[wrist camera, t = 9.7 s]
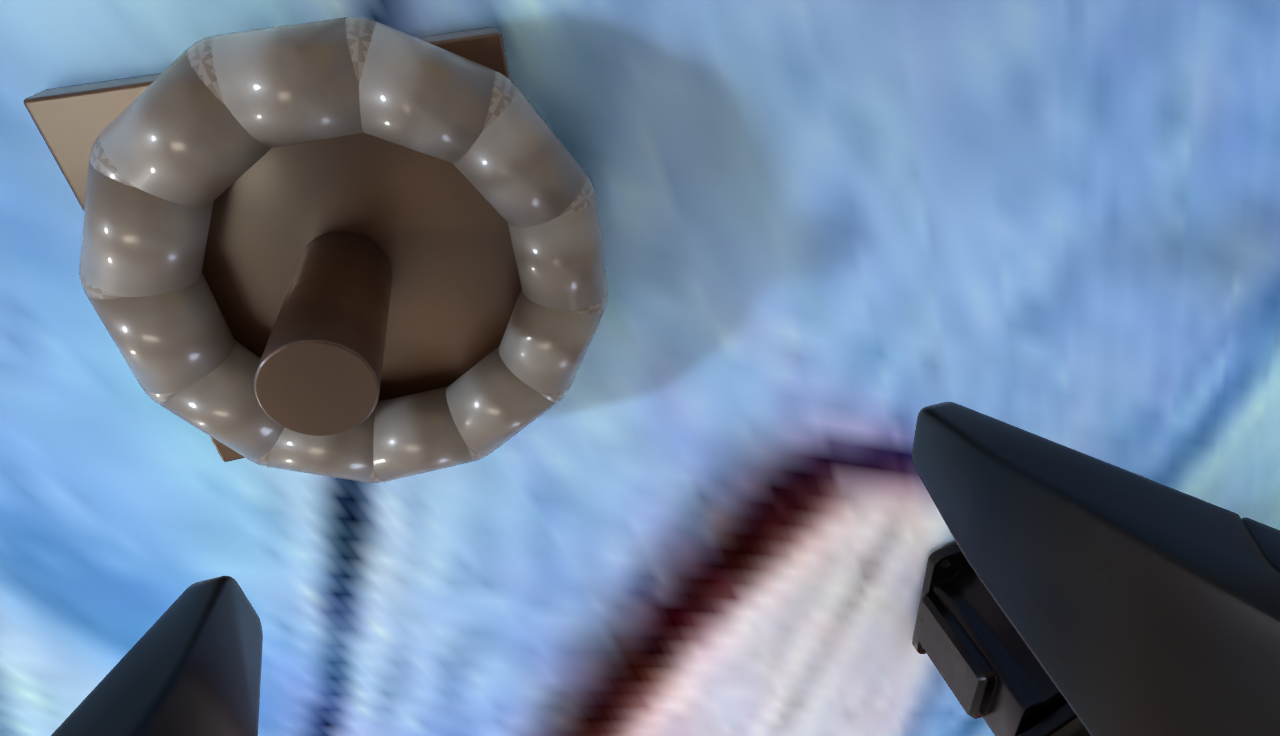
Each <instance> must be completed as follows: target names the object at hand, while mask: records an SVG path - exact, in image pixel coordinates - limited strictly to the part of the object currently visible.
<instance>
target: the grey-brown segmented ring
mask: <svg viewBox="0 0 1280 736" xmlns="http://www.w3.org/2000/svg"><path fill="white" fill-rule="evenodd" d="M359 133H367V134H369V135H372V136H375V137H378V138H381V139H384V140H387V141H389V142H392V143H395V144H398V145H401V146H404V147H407V148H410V149H412V150H415V151H418V152H421V153H424V154H427V155H430V156H433V157H435V158H438V159H441V160H444V161H447V162H450V163H453V164H454V165H455V167H456V168H457V169H458V170H459V171H460V172H461V173H462V174H463V175H464V176H465V177H466V178H467V180H468V181H469V182H470V183H471V184H472V185H473V186H474V187H475V188H476V189H477V190H478V191H479V192H480V194H481V195H482V196H483V197H484V198H485V199H486V200H487V201H488V202H489V203H490V204H491V205H492V206H493V208H494V209H495V210H496V211H497V212H498V213H499V214H500V215H501V216H502V217H503V218H504V219H505V220H506V222H507V223H508V227H509V232H510V236H511V241H512V246H513V250H514V255H515V260H516V264H517V269H518V274H519V278H520V283H521V291H520V294H519V296H518V299H517V301H516V304H515V307H514V309H513V312H512V315H511V317H510V320H509V322H508V325H507V328H506V330H505V333H504V335H503V338H502V341H501V343H500V346H499V347H497V348H496V349H495V350H494V351H492V352H491V353H490V354H489V355H487V356H486V357H485V358H484V359H482V360H481V361H480V362H478V363H477V364H476V365H475V366H473V367H472V368H471V369H470V370H468V371H467V372H466V373H465V374H463V375H462V376H461V377H460V378H458V379H457V380H456V381H454V382H453V383H452V384H451V385H449V386H448V387H443V388H438V389H434V390H429V391H424V392H420V393H415V394H410V395H406V396H401V397H396V398H392V399H387V400H382V401H378V402H377V405H376V407H375V409H374V410H373V412H372V413H371V415H370V416H369V417H368V418H367V419H366V420H365V421H364V422H362V423H361V424H360V425H358V426H357V427H355V428H353V429H351V430H349V431H346V432H344V433H340V434H336V435H330V436H311V435H305V434H300V433H297V432H294V431H291V430H289V429H286V428H284V427H283V426H281V425H279V424H277V423H276V422H275V421H273V420H272V419H271V418H270V417H269V416H268V415H267V414H266V413H265V412H264V410H263V409H262V408H261V406H260V404H259V403H258V400H257V398H256V395H255V391H254V377H255V373H256V370H257V368H258V365H259V362H260V360H261V358H260V357H258V356H257V355H255V354H254V353H253V352H251V351H250V350H248V349H247V348H246V347H244V346H243V345H241V344H240V343H239V342H237V341H236V340H235V339H234V337H233V335H232V333H231V331H230V329H229V327H228V325H227V323H226V321H225V319H224V317H223V315H222V313H221V311H220V309H219V307H218V305H217V302H216V300H215V298H214V296H213V294H212V292H211V290H210V288H209V286H208V284H207V282H206V280H205V278H204V276H203V274H202V267H203V261H204V255H205V250H206V244H207V238H208V232H209V226H210V220H211V214H212V208H213V202H214V200H215V199H216V198H217V197H218V196H220V195H221V194H222V193H223V192H224V191H225V190H226V189H227V188H228V187H230V186H231V185H232V184H233V183H234V182H235V181H236V180H237V179H238V178H239V177H241V176H242V175H243V174H244V173H245V172H246V171H247V170H248V169H249V168H251V167H252V166H253V165H254V164H255V163H256V162H257V161H258V160H259V159H260V158H262V157H263V156H264V155H265V154H266V153H267V152H268V151H269V150H270V149H271V148H273V147H278V146H284V145H290V144H296V143H303V142H309V141H315V140H321V139H328V138H334V137H340V136H346V135H353V134H359ZM79 275H80V280H81V284H82V286H83V289H84V291H85V293H86V295H87V297H88V299H89V300H90V302H91V304H92V305H93V307H94V309H95V310H96V312H97V314H98V315H99V317H100V319H101V320H102V322H103V324H104V325H105V327H106V329H107V330H108V332H109V334H110V335H111V337H112V339H113V340H114V342H115V344H116V345H117V347H118V349H119V350H120V352H121V354H122V355H123V357H124V359H125V360H126V362H127V364H128V365H129V367H130V369H131V370H132V372H133V374H134V375H135V377H136V379H137V380H138V382H139V384H140V385H141V387H142V388H143V390H144V391H145V392H146V394H147V395H148V396H149V397H150V398H151V399H152V400H154V401H155V402H156V403H158V404H159V405H161V406H162V407H164V408H166V409H167V410H169V411H171V412H172V413H174V414H175V415H177V416H179V417H180V418H182V419H184V420H185V421H187V422H188V423H190V424H192V425H193V426H195V427H196V428H198V429H200V430H201V431H203V432H205V433H206V434H208V435H209V436H211V437H213V438H214V439H216V440H218V441H219V442H221V443H222V444H224V445H226V446H227V447H229V448H231V449H232V450H234V451H235V452H237V453H239V454H240V455H242V456H243V457H245V458H247V459H248V460H250V461H252V462H255V463H257V464H259V465H263V466H267V467H273V468H279V469H285V470H292V471H298V472H304V473H311V474H317V475H323V476H330V477H336V478H342V479H348V480H355V481H361V482H368V483H379V482H386V481H390V480H394V479H399V478H403V477H407V476H412V475H416V474H420V473H425V472H429V471H433V470H438V469H442V468H446V467H451V466H455V465H459V464H464V463H468V462H472V461H476V460H479V459H482V458H484V457H486V456H487V455H489V454H490V453H492V452H493V451H494V450H496V449H497V448H498V447H500V446H501V445H502V444H503V443H505V442H506V441H507V440H509V439H510V438H511V437H513V436H514V435H515V434H517V433H518V432H519V431H520V430H522V429H523V428H524V427H526V426H527V425H528V424H530V423H531V422H532V421H534V420H535V419H536V418H537V417H539V416H540V415H541V414H543V413H544V412H545V411H547V410H548V409H549V408H551V407H552V406H553V405H554V404H556V403H557V402H558V401H560V400H561V399H562V398H563V397H564V395H565V394H566V393H567V391H568V390H569V388H570V386H571V384H572V382H573V379H574V377H575V375H576V373H577V370H578V368H579V366H580V364H581V361H582V359H583V357H584V355H585V352H586V350H587V348H588V346H589V343H590V341H591V339H592V336H593V334H594V332H595V330H596V327H597V325H598V323H599V321H600V318H601V316H602V314H603V312H604V309H605V307H606V303H607V297H608V286H607V278H606V271H605V264H604V257H603V249H602V242H601V235H600V227H599V220H598V213H597V206H596V198H595V194H594V189H593V186H592V184H591V181H590V179H589V177H588V176H587V175H586V173H585V172H584V170H583V169H582V168H581V167H580V165H579V164H578V163H577V162H576V160H575V159H574V158H573V157H572V155H571V154H570V153H569V152H568V150H567V149H566V148H565V147H564V145H563V144H562V143H561V142H560V140H559V139H558V138H557V137H556V135H555V134H554V133H553V132H552V130H551V129H550V128H549V127H548V125H547V124H546V123H545V122H544V120H543V119H542V118H541V117H540V115H539V114H538V113H537V112H536V110H535V109H534V108H533V107H532V105H531V104H530V103H529V102H528V100H527V99H526V98H525V97H524V95H523V94H522V93H521V92H520V91H519V89H518V88H517V87H516V86H515V85H514V84H513V82H511V81H510V80H509V79H508V78H507V77H505V76H504V75H503V74H501V73H499V72H497V71H495V70H493V69H491V68H488V67H486V66H484V65H481V64H479V63H476V62H474V61H471V60H469V59H467V58H464V57H462V56H459V55H457V54H455V53H452V52H450V51H447V50H445V49H442V48H440V47H438V46H435V45H433V44H430V43H428V42H425V41H423V40H421V39H418V38H416V37H413V36H411V35H408V34H406V33H404V32H401V31H399V30H396V29H394V28H391V27H389V26H387V25H384V24H382V23H379V22H376V21H373V20H371V19H367V18H360V17H348V18H347V17H345V18H338V19H331V20H323V21H316V22H309V23H301V24H294V25H287V26H279V27H272V28H265V29H257V30H250V31H243V32H235V33H228V34H221V35H215V36H211V37H207V38H204V39H202V40H200V41H198V42H196V43H194V44H193V45H192V46H191V47H189V48H188V49H187V50H186V51H185V52H184V53H183V54H182V55H181V56H180V57H179V58H178V59H177V60H176V61H175V62H174V63H173V64H172V65H171V66H170V67H169V68H168V69H166V70H165V71H164V72H163V73H162V74H161V75H160V76H159V77H158V78H157V79H156V80H155V81H154V82H153V83H152V84H151V85H150V86H149V87H148V88H147V89H146V90H145V91H144V92H142V93H141V94H140V95H139V96H138V97H137V98H136V99H135V100H134V101H133V102H132V103H131V104H130V105H129V106H128V107H127V108H126V109H125V110H124V111H123V112H122V113H121V114H120V115H119V116H117V117H116V118H115V119H114V120H113V121H112V122H111V123H110V124H109V125H108V126H107V127H106V128H105V129H104V130H103V131H102V132H101V133H100V135H99V136H98V137H97V138H96V140H95V141H94V143H93V145H92V148H91V151H90V157H89V165H88V176H87V188H86V199H85V210H84V222H83V233H82V244H81V256H80V271H79Z"/></svg>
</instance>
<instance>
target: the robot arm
mask: <svg viewBox="0 0 1280 736" xmlns="http://www.w3.org/2000/svg"><path fill="white" fill-rule="evenodd" d="M912 459H913V463H914V466H915V469H916V471H917V473H918V475H919V476H920V478H921V480H922V482H923V483H924V485H925V487H926V489H927V491H928V492H929V494H930V496H931V498H932V499H933V501H934V503H935V505H936V507H937V508H938V510H939V512H940V514H941V516H942V517H943V519H944V521H945V523H946V524H947V526H948V528H949V530H950V532H951V533H952V535H953V537H954V539H955V540H956V542H957V544H956V545H953V546H949V547H946V548H942V549H939V550H937V551H935V552H934V553H932V555H931V556H930V557H929V559H928V563H927V569H926V574H925V579H924V584H923V590H922V595H921V600H920V605H919V611H918V616H917V621H916V626H915V631H914V637H913V642H912V643H913V646H914V647H915V649H916V650H917V652H918V653H920V654H925V653H927V654H928V656H929V657H930V659H931V660H932V662H933V663H934V665H935V666H936V668H937V669H938V671H939V672H940V674H941V675H942V677H943V678H944V680H945V681H946V683H947V684H948V686H949V687H950V689H951V690H952V692H953V693H954V695H955V696H956V698H957V699H958V701H959V702H960V704H961V705H962V707H963V708H964V710H965V711H966V713H967V714H968V715H970V716H971V717H973V718H975V719H977V718H980V717H983V719H984V720H985V722H986V723H987V725H988V726H989V728H990V729H991V730H992V732H993V733H994V735H995V736H1280V530H1277V529H1275V528H1272V527H1270V526H1267V525H1265V524H1262V523H1259V522H1257V521H1254V520H1252V519H1249V518H1242V519H1241V517H1240V516H1239V515H1238V514H1236V513H1234V512H1231V511H1229V510H1226V509H1223V508H1221V507H1218V506H1216V505H1213V504H1211V503H1208V502H1206V501H1203V500H1201V499H1198V498H1195V497H1193V496H1190V495H1188V494H1185V493H1183V492H1180V491H1178V490H1175V489H1172V488H1170V487H1167V486H1165V485H1162V484H1160V483H1157V482H1155V481H1152V480H1150V479H1147V478H1144V477H1142V476H1139V475H1137V474H1134V473H1132V472H1129V471H1127V470H1124V469H1122V468H1119V467H1116V466H1114V465H1111V464H1109V463H1106V462H1104V461H1101V460H1099V459H1096V458H1094V457H1091V456H1088V455H1086V454H1083V453H1081V452H1078V451H1076V450H1073V449H1071V448H1068V447H1065V446H1063V445H1060V444H1058V443H1055V442H1053V441H1050V440H1048V439H1045V438H1043V437H1040V436H1037V435H1035V434H1032V433H1030V432H1027V431H1025V430H1022V429H1020V428H1017V427H1015V426H1012V425H1009V424H1007V423H1004V422H1002V421H999V420H997V419H994V418H992V417H989V416H987V415H984V414H981V413H979V412H976V411H974V410H971V409H969V408H966V407H964V406H961V405H958V404H956V403H953V402H943V403H939V404H935V405H931V406H927V407H924V408H923V409H921V411H920V412H919V414H918V418H917V424H916V430H915V437H914V443H913V449H912ZM262 640H263V634H262V626H261V622H260V619H259V617H258V615H257V614H256V612H255V610H254V609H253V607H252V605H251V604H250V602H249V601H248V599H247V597H246V596H245V594H244V593H243V591H242V589H241V588H240V586H239V585H238V583H237V582H236V581H235V579H233V578H232V577H229V576H221V577H217V578H213V579H209V580H205V581H201V582H197V583H195V584H192V585H191V586H190V587H188V588H187V589H186V590H185V591H184V592H183V593H182V595H181V596H180V597H179V598H178V599H177V600H176V601H175V602H174V603H173V604H172V605H171V606H170V608H169V609H168V610H167V611H166V612H165V613H164V614H163V615H162V616H161V617H160V618H159V619H158V620H157V622H156V623H155V624H154V625H153V626H152V627H151V628H150V629H149V630H148V631H147V632H146V633H145V635H144V636H143V637H142V638H141V639H140V640H139V641H138V642H137V643H136V644H135V645H134V646H133V647H132V649H131V650H130V651H129V652H128V653H127V654H126V655H125V656H124V657H123V658H122V659H121V660H120V662H119V663H118V664H117V665H116V666H115V667H114V668H113V669H112V670H111V671H110V672H109V673H108V675H107V676H106V677H105V678H104V679H103V680H102V681H101V682H100V683H99V684H98V685H97V686H96V687H95V689H94V690H93V691H92V692H91V693H90V694H89V695H88V696H87V697H86V698H85V699H84V700H83V702H82V703H81V704H80V705H79V706H78V707H77V708H76V709H75V710H74V711H73V712H72V713H71V715H70V716H69V717H68V718H67V719H66V720H65V721H64V722H63V723H62V724H61V725H60V726H59V727H58V729H57V730H56V731H55V732H54V733H53V734H52V735H51V736H258V719H259V699H260V680H261V660H262Z"/></svg>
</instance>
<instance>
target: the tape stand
mask: <svg viewBox="0 0 1280 736" xmlns="http://www.w3.org/2000/svg"><path fill="white" fill-rule="evenodd" d="M417 38H418V39H421V40H423V41H425V42H428V43H430V44H433V45H435V46H438V47H440V48H442V49H445V50H447V51H450V52H452V53H455V54H457V55H459V56H462V57H464V58H467V59H469V60H471V61H474V62H476V63H479V64H481V65H484V66H486V67H488V68H491V69H493V70H495V71H497V72H499V73H501V74H503V75H504V76H505V77H507V78H508V79H509V80H510V78H509V72H508V67H507V62H506V56H505V51H504V46H503V40H502V35H501V34H500V32H499V30H498V28H497V27H489V28H482V29H474V30H467V31H460V32H453V33H446V34H439V35H432V36H424V37H417ZM161 74H162V73H160V74H153V75H146V76H139V77H131V78H124V79H117V80H110V81H103V82H96V83H89V84H81V85H74V86H67V87H60V88H53V89H46V90H44V91H42V92H40V93H37V94H35V95H33V96H31V97H29V98H26V99H25V100H24V104H25V106H26V108H27V110H28V112H29V113H30V115H31V117H32V119H33V120H34V122H35V124H36V126H37V128H38V129H39V131H40V133H41V135H42V137H43V138H44V140H45V142H46V144H47V146H48V147H49V149H50V151H51V153H52V155H53V156H54V158H55V160H56V162H57V164H58V165H59V167H60V169H61V171H62V173H63V174H64V176H65V178H66V180H67V182H68V183H69V185H70V187H71V189H72V190H73V192H74V194H75V196H76V198H77V199H78V201H79V203H80V205H81V207H82V208H83V210H85V199H86V188H87V176H88V165H89V157H90V151H91V148H92V145H93V143H94V141H95V140H96V138H97V137H98V136H99V135H100V133H101V132H102V131H103V130H104V129H105V128H106V127H107V126H108V125H109V124H110V123H111V122H112V121H113V120H114V119H115V118H116V117H117V116H119V115H120V114H121V113H122V112H123V111H124V110H125V109H126V108H127V107H128V106H129V105H130V104H131V103H132V102H133V101H134V100H135V99H136V98H137V97H138V96H139V95H140V94H141V93H142V92H144V91H145V90H146V89H147V88H148V87H149V86H150V85H151V84H152V83H153V82H154V81H155V80H156V79H157V78H158V77H159V76H160V75H161ZM202 274H203V276H204V278H205V280H206V282H207V284H208V286H209V288H210V290H211V292H212V294H213V296H214V298H215V300H216V302H217V305H218V307H219V309H220V311H221V313H222V315H223V317H224V319H225V321H226V323H227V325H228V327H229V329H230V331H231V333H232V335H233V337H234V339H235V340H236V341H237V342H239V343H240V344H241V345H243V346H244V347H246V348H247V349H248V350H250V351H251V352H253V353H254V354H255V355H257V356H258V357H260V358H261V360H260V362H259V365H258V368H257V370H256V373H255V377H254V391H255V395H256V398H257V400H258V403H259V404H260V406H261V408H262V409H263V410H264V412H265V413H266V414H267V415H268V416H269V417H270V418H271V419H272V420H273V421H275V422H276V423H277V424H279V425H281V426H283V427H284V428H286V429H289V430H291V431H294V432H297V433H300V434H305V435H311V436H330V435H336V434H340V433H344V432H346V431H349V430H351V429H353V428H355V427H357V426H358V425H360V424H361V423H362V422H364V421H365V420H366V419H367V418H368V417H369V416H370V415H371V413H372V412H373V410H374V409H375V407H376V405H377V402H378V401H382V400H387V399H392V398H396V397H401V396H406V395H410V394H415V393H420V392H424V391H429V390H434V389H438V388H443V387H448V386H449V385H451V384H452V383H453V382H454V381H456V380H457V379H458V378H460V377H461V376H462V375H463V374H465V373H466V372H467V371H468V370H470V369H471V368H472V367H473V366H475V365H476V364H477V363H478V362H480V361H481V360H482V359H484V358H485V357H486V356H487V355H489V354H490V353H491V352H492V351H494V350H495V349H496V348H497V347H499V346H500V343H501V341H502V338H503V335H504V333H505V330H506V328H507V325H508V322H509V320H510V317H511V315H512V312H513V309H514V307H515V304H516V301H517V299H518V296H519V294H520V291H521V283H520V278H519V274H518V269H517V264H516V260H515V255H514V250H513V246H512V241H511V236H510V232H509V227H508V223H507V222H506V220H505V219H504V218H503V217H502V216H501V215H500V214H499V213H498V212H497V211H496V210H495V209H494V208H493V206H492V205H491V204H490V203H489V202H488V201H487V200H486V199H485V198H484V197H483V196H482V195H481V194H480V192H479V191H478V190H477V189H476V188H475V187H474V186H473V185H472V184H471V183H470V182H469V181H468V180H467V178H466V177H465V176H464V175H463V174H462V173H461V172H460V171H459V170H458V169H457V168H456V167H455V165H454V164H453V163H450V162H447V161H444V160H441V159H438V158H435V157H433V156H430V155H427V154H424V153H421V152H418V151H415V150H412V149H410V148H407V147H404V146H401V145H398V144H395V143H392V142H389V141H387V140H384V139H381V138H378V137H375V136H372V135H369V134H367V133H359V134H353V135H346V136H340V137H334V138H328V139H321V140H315V141H309V142H303V143H296V144H290V145H284V146H278V147H273V148H271V149H270V150H269V151H268V152H267V153H266V154H265V155H264V156H263V157H262V158H260V159H259V160H258V161H257V162H256V163H255V164H254V165H253V166H252V167H251V168H249V169H248V170H247V171H246V172H245V173H244V174H243V175H242V176H241V177H239V178H238V179H237V180H236V181H235V182H234V183H233V184H232V185H231V186H230V187H228V188H227V189H226V190H225V191H224V192H223V193H222V194H221V195H220V196H218V197H217V198H216V199H215V200H214V202H213V208H212V214H211V220H210V226H209V232H208V238H207V244H206V250H205V255H204V261H203V267H202ZM210 438H211V440H212V442H213V443H214V445H215V447H216V449H217V451H218V452H219V454H220V456H221V458H222V460H223V461H224V462H227V461H232V460H236V459H241V458H245V457H243V456H242V455H240V454H239V453H237V452H235V451H234V450H232V449H231V448H229V447H227V446H226V445H224V444H222V443H221V442H219V441H218V440H216V439H214V438H213V437H211V436H210Z"/></svg>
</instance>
